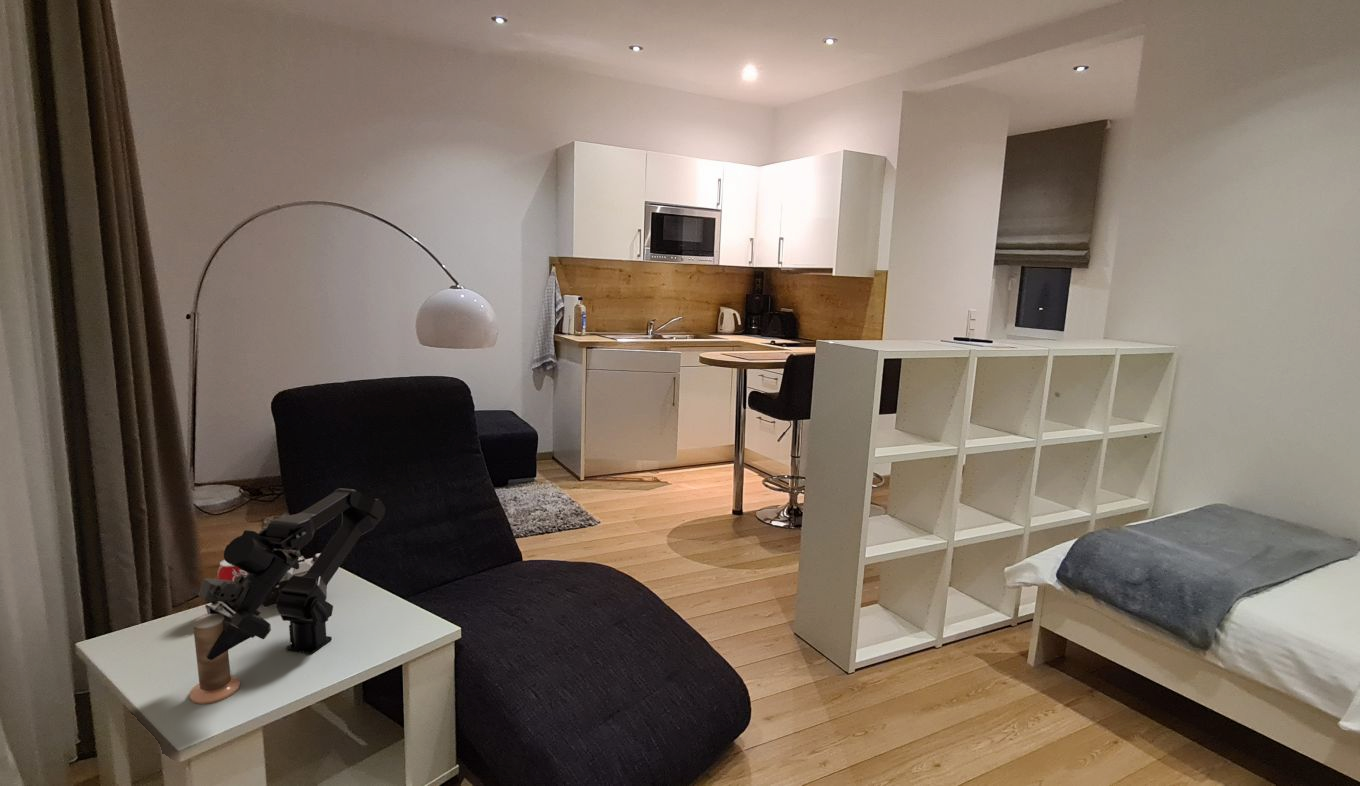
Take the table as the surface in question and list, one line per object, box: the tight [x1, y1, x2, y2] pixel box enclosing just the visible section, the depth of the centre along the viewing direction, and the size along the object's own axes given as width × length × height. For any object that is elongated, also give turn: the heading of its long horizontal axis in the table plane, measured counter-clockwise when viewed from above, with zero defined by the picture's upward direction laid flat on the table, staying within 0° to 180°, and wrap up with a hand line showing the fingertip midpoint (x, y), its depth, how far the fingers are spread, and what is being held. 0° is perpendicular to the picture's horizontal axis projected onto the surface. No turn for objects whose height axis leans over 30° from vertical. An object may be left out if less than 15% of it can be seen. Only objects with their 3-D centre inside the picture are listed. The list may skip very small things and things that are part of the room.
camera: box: [261, 552, 322, 609], centre depth 171 cm, size 15×11×10 cm
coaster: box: [189, 675, 241, 705], centre depth 135 cm, size 8×8×1 cm
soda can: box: [216, 559, 248, 581], centre depth 167 cm, size 7×7×12 cm
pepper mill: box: [192, 614, 232, 690], centre depth 134 cm, size 5×5×13 cm
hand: (203, 653), depth 132 cm, fingers closed on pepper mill, 5 cm apart
